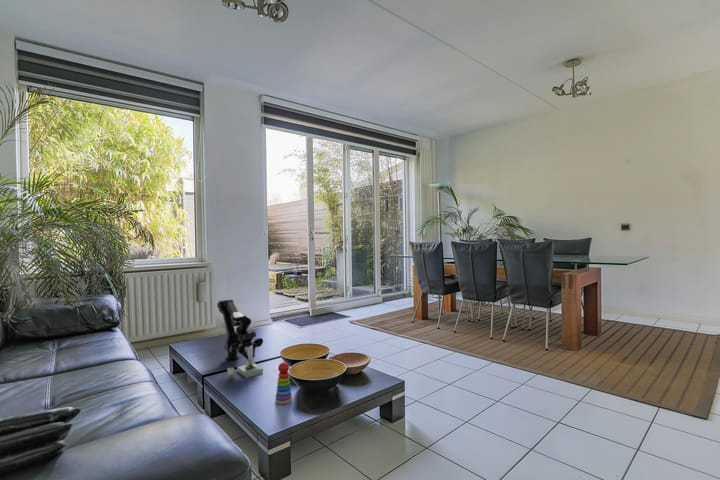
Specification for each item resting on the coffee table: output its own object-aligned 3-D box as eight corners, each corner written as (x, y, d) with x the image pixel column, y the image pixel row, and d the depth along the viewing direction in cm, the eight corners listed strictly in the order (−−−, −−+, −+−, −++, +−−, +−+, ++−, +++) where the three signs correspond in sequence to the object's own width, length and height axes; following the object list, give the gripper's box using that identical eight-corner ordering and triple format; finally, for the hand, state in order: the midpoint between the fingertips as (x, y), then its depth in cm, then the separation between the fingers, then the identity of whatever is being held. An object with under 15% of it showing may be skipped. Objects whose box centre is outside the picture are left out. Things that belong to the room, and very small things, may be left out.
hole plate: (237, 371, 212) (237, 367, 212) (253, 366, 219) (253, 362, 219) (246, 377, 203) (246, 373, 203) (262, 372, 210) (262, 368, 210)
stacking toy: (293, 403, 174) (293, 364, 173) (276, 406, 171) (276, 367, 170) (290, 396, 181) (290, 359, 180) (274, 399, 178) (273, 361, 177)
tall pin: (247, 367, 212) (246, 345, 212) (253, 367, 213) (253, 345, 212) (246, 370, 209) (246, 347, 208) (252, 369, 209) (252, 347, 209)
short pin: (226, 379, 202) (226, 368, 201) (232, 377, 204) (232, 366, 204) (229, 381, 199) (228, 370, 199) (235, 379, 201) (235, 368, 201)
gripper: (230, 330, 207) (238, 354, 199) (261, 324, 219) (270, 347, 211) (226, 340, 213) (233, 364, 205) (256, 334, 225) (264, 357, 217)
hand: (250, 358), depth 210 cm, fingers closed on tall pin, 3 cm apart
